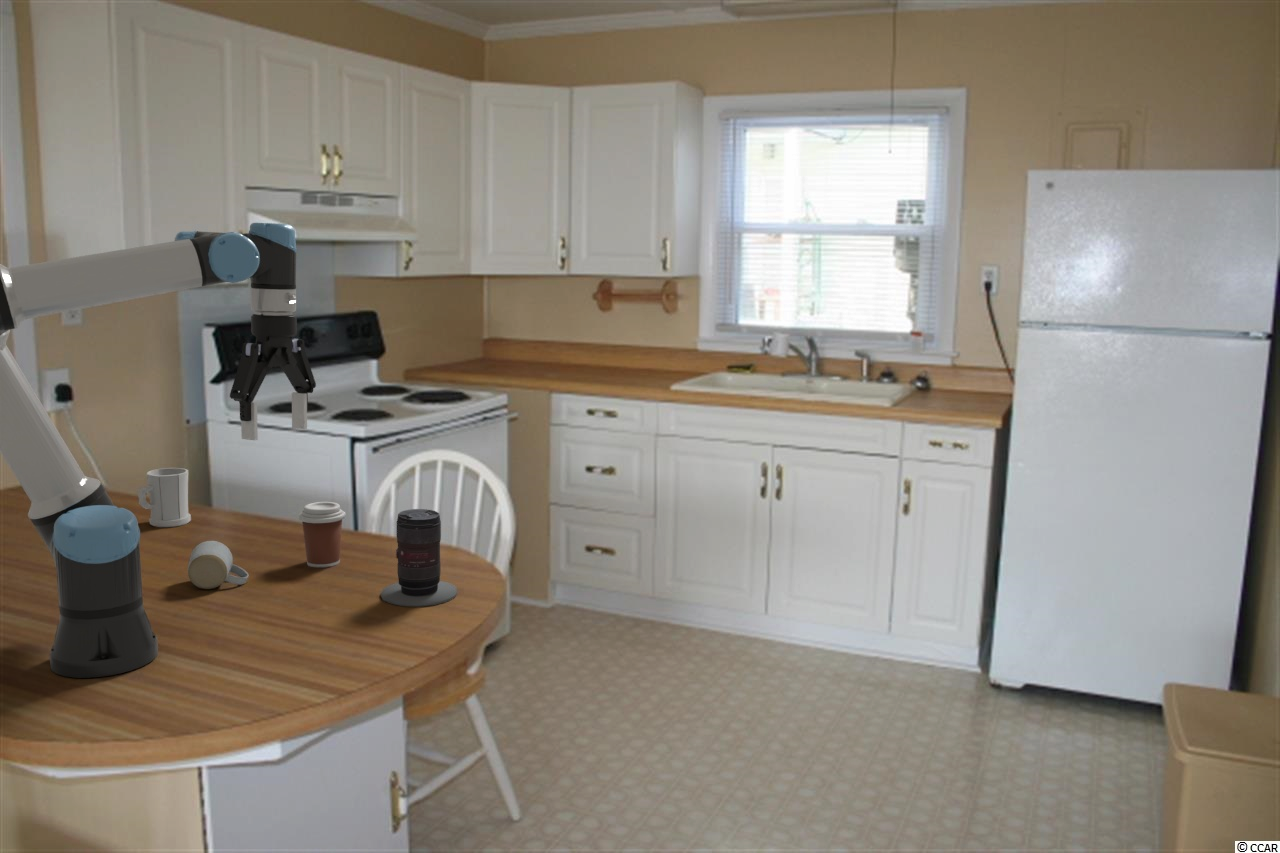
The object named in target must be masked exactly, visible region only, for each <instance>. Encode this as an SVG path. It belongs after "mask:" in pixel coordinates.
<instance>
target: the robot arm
mask: <svg viewBox="0 0 1280 853" xmlns="http://www.w3.org/2000/svg"><path fill="white" fill-rule="evenodd" d="M296 239H297V238H296V231H295V229H294V227H293V226H292V224H288V223H275V222H274V223H271V222H252V223H251V224H250V225H249V230H248V232H247V233H239V232H234V231H229V232H218V231H217V232H215V231H198V230H193V231H179V232H177V233H176V235H175V238H174V240H173V241H167V242H161V243H157V244H156V243H154V244H149V245H148V244H147V245H142V246H138V247H137V246H136V247H129V248H123V249H118V250H110V251H105V252H99V253H93V254H88V255H81V256H73V257H68V258H62V259H55V260H49V261H44V262H42V261H41V262H38V263H31V264H23V265H17V266H11V267H8V266H5V265H4V264H2V263H0V454H1V456H2V458H3V459H4V460H5V462H6V464H7V465H8V466H9V468H10V470H11V471H12V473H13V474H14V476H15V477H16V479H17V481H18V483H19V484H20V486H21V488H23V491H24V492H25V494H26V495H27V497H28V499H29V500H30V502H31V504H30V507H29V511H28V513H27V516H28V518H29V520H30V522H31V523H32V525H33V527H34V528H35V529H36V531H37V533H38V534H39V536H40V538H41V539H42V541H43V543H45V545H46V547H47V549H48V550H49V552H50V554H51V556H52V559H53V562H54V565H55V570H56V581H57V595H58V596H57V597H58V608H59V610H58V611H59V619H58V620H59V621H58V623H57V627H56V632H55V637H54V642H53V645H52V646H51V648H50V652H49V660H50V661H49V663H50V669H51V671H52V672H53V673H55V674H56V675H60V676H63V677H66V678H67V677H68V678H76V679H81V678H82V679H83V678H84V679H86V678H87V679H88V678H89V679H90V678H100V677H109V676H110V677H111V676H114V675H118V674H124V673H126V672H127V673H128V672H130V671H133V670H136V669H139V668H142V667H144V666H146V665H148V664H149V663H151V662H152V661H154V660H155V659H156V658H157V657H158V655H159V646H158V637H157V636H156V633H155V632H153V629H152V625H151V622H150V620H149V618H148V615H147V613H146V611H145V608H144V601H143V600H144V599H143V585H142V567H141V565H142V564H141V551H140V550H141V548H140V541H141V540H140V539H141V530H140V527H139V523H138V518H137V516H136V515H135V514H134V513H133V512H132V511H131V510H129V509H126V508H124V507H118V506H116V505H115V504H114V503H113V500H112V499H111V497H110V495H109V494H108V492H107V491H106V489H105V488H104V485H103V484H102V482H101V481H100V480H99V479H98V478H95V477H94V478H93V477H89V476H86V475H85V474H84V472H83V470H82V468H81V467H80V466H79V463H78V462H77V460H76V459H75V457H74V455H73V454H72V452H71V450H70V448H69V446H68V445H67V444H66V442H65V440H64V439H63V437H62V435H61V434H60V431H59V430H58V429H57V427H56V425H55V424H54V422H53V420H52V418H51V417H50V415H49V413H48V412H47V411H46V408H45V407H44V405H43V404H42V402H41V400H40V399H39V397H38V396H37V394H36V392H35V391H34V389H33V387H32V386H31V383H30V382H29V380H28V378H27V377H26V376H25V374H24V372H23V370H22V369H21V366H19V364H18V362H17V360H16V358H15V357H14V355H13V354H12V352H11V350H10V349H9V347H8V346H7V341H8V339H9V335H10V333H11V330H15V329H18V327H19V326H20V325H21V324H22V322H23V321H24V320H28V319H34V318H40V317H43V316H49V315H50V316H51V315H57V314H60V313H67V312H72V311H75V310H77V311H78V310H82V309H83V310H84V309H87V308H88V309H89V308H92V307H99V306H104V305H105V306H106V305H109V304H114V303H119V302H125V301H132V300H135V299H141V298H147V297H150V296H151V297H152V296H157V295H162V294H163V295H164V294H169V293H173V292H179V291H185V290H188V289H189V290H190V289H195V288H200V287H206V286H212V285H213V286H214V285H219V284H223V283H224V284H225V283H230V284H234V283H235V284H236V283H241V282H243V281H246V280H248V279H250V280H249V281H250V310H251V311H252V312H254V313H253V314H252V315H251V316H250V325H251V326H250V330H251V334H252V336H254V337H255V339H256V340H255V343H253V342H252V343H251V342H244V343H243V344H242V346H241V358H240V361H239V363H238V364H239V365H238V366H237V370H236V374H235V376H234V380H233V383H232V386H231V390H230V393H229V398H230V399H232V400H234V401H235V402H238V404H239V419H240V421H241V425H240V426H241V440H248V441H258V439H259V438H258V437H259V436H258V435H259V434H258V433H259V432H258V402H257V401H254V400H255V398H256V395H257V393H258V392H259V390H260V388H261V386H262V384H263V382H264V379H265V378H266V377H267V375H268V372H270V371H271V370H273V368H274V369H275V368H278V367H280V368H281V370H282V372H284V374H285V376H286V377H287V379H288V381H289V382H290V384H291V386H292V387H293V390H294V391H295V392H291V429H298V430H308V407H309V406H308V405H309V399H308V397H309V395H308V394H312V393H313V392H314V389H315V388H316V387H317V383H316V380H315V376H314V373H313V371H312V368H311V365H310V361H309V359H308V356H307V353H306V349H305V348H306V347H305V339H301V338H293V337H296V335H297V332H298V330H297V328H298V322H297V316H296V315H295V314H294V313H295V312H296V311H297V254H298V250H297V244H296V243H297V242H296Z"/></svg>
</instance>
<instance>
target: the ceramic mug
mask: <svg viewBox="0 0 1280 853" xmlns="http://www.w3.org/2000/svg"><path fill="white" fill-rule="evenodd" d="M233 562H234V558H233V554H232V552H231V550H230V548H228V546H227V545H226V544H224V543H222V542H220V541H216V540H206V541H203V542H201V543H199V544H197V545H196V546H195V547H194V548H193V550H192V551H191V554H190V558H189V562H188V566H187V575H188V579H189V580H190V582H191V583H192V584H193V585H194V586H195V587H197V588H198V589H202V590H213V589H217V588H218V587H219V586H221V585H222V584H223V583H225V582H227V583H230V584H233V585H245V584H246V583H247V581H248V579H249V576H250V575H249V572H248V571H246V569H244V568H242V567H240V566H239V565H236V564H233ZM230 573H233V574H235V575H237V576H235V575H233V574H230Z"/></svg>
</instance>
